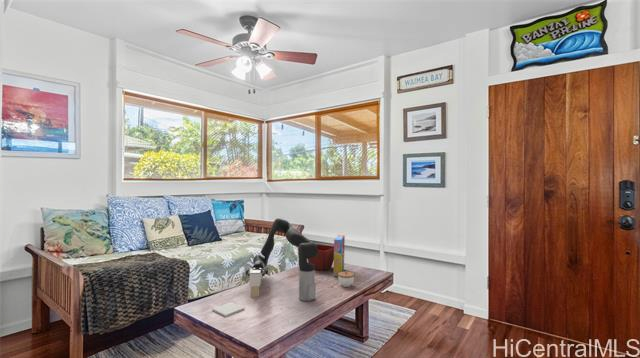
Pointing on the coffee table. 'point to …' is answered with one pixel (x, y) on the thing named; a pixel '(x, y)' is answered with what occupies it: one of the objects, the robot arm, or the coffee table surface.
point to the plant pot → (323, 257)
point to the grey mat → (228, 309)
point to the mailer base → (254, 291)
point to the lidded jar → (346, 278)
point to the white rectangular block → (255, 278)
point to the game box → (338, 254)
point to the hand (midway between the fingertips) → (256, 274)
